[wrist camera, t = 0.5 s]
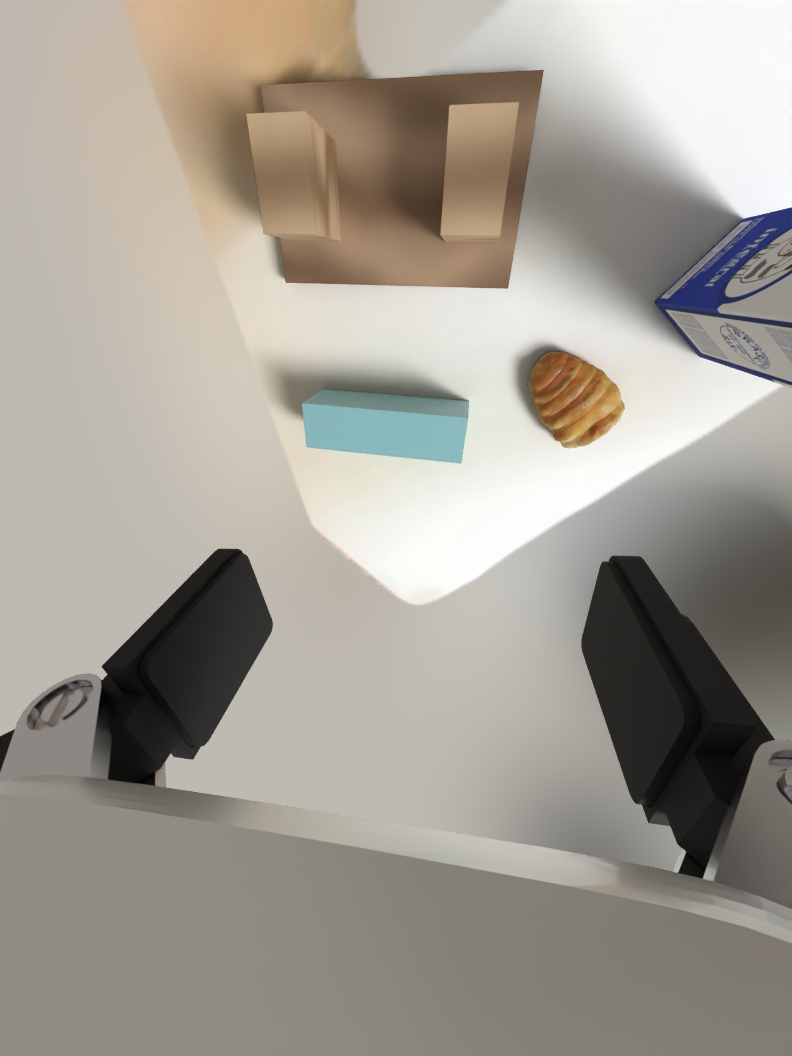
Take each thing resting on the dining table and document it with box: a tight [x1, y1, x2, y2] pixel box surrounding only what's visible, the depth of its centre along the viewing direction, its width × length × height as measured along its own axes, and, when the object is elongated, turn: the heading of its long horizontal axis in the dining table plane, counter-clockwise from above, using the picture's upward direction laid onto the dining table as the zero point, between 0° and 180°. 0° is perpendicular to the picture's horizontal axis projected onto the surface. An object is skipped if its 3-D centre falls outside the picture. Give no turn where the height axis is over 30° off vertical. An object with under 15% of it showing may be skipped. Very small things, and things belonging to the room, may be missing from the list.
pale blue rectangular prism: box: [302, 389, 469, 463], centre depth 38 cm, size 4×16×6 cm, turn 88°
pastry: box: [528, 352, 625, 448], centre depth 34 cm, size 9×7×4 cm
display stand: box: [246, 70, 544, 288], centre depth 27 cm, size 12×20×8 cm, turn 89°
